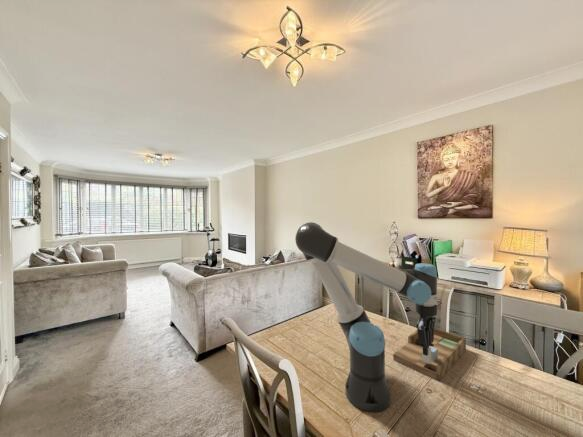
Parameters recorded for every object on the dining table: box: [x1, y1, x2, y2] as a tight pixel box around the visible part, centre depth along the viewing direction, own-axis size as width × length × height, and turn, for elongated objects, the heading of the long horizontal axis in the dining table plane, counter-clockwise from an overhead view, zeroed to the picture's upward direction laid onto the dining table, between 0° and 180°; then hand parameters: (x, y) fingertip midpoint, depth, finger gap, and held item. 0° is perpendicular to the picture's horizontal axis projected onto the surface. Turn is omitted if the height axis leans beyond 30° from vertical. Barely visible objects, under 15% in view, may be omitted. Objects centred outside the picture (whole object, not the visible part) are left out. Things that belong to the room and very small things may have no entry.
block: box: [431, 346, 438, 362], centre depth 102 cm, size 4×4×4 cm
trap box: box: [392, 327, 467, 382], centre depth 109 cm, size 32×18×6 cm, turn 130°
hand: (426, 361), depth 97 cm, fingers closed
